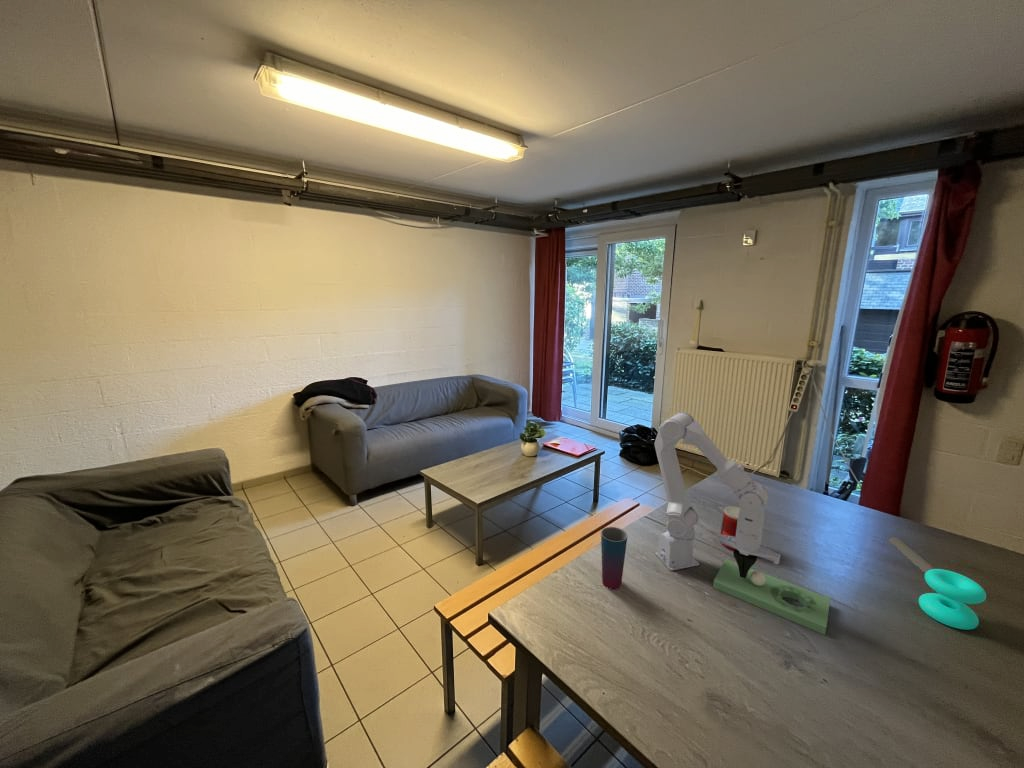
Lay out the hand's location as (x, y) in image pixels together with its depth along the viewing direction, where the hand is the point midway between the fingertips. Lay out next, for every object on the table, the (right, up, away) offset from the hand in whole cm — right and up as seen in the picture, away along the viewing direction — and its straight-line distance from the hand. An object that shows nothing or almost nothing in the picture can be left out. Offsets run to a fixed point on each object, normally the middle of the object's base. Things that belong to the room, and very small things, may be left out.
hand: (743, 575), depth 108 cm
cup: (-35, -3, +2) cm, 35 cm away
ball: (+2, 0, -2) cm, 3 cm away
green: (+5, -4, -3) cm, 7 cm away
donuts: (+43, -5, -10) cm, 45 cm away
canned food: (+7, +1, +18) cm, 20 cm away
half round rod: (+57, -1, +10) cm, 58 cm away
